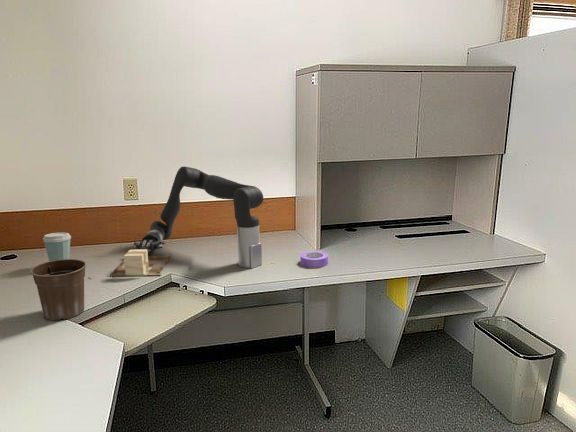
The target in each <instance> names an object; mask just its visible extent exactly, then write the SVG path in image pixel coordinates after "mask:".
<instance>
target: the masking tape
mask: <svg viewBox="0 0 576 432" xmlns="http://www.w3.org/2000/svg"><path fill="white" fill-rule="evenodd" d="M300 265H301V266H303V267H306V268H315V269H317V268H323V267H326V266H328V265H329V255H328V253H327V252H324V251H320V250H310V251H305V252H302V253H301V254H300Z"/></svg>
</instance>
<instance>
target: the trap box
mask: <svg viewBox="0 0 576 432" xmlns="http://www.w3.org/2000/svg"><path fill="white" fill-rule="evenodd" d="M172 256H173V253H169V255H165V254H164V255H148V264H149V268H148V270H147V271H146V272H145V274H144V275H126V272H125V267H122V266H124V265H125V263H124V259H123V260H122V261H121V262H120V263H119V264H118V265H117V266H116V267H115V269H113V270H112V272H111V278H142V277H143V278H145V277H161V276H162V274H161V273H162V271H163V270H164V268H165V267H166V265H167V263H168V262H169V261H170V259H171V258H172ZM156 262H163V263H162V265H161V266H154V265H155V264H156Z"/></svg>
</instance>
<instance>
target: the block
mask: <svg viewBox="0 0 576 432" xmlns="http://www.w3.org/2000/svg"><path fill="white" fill-rule="evenodd" d="M148 253H149V251H147V249H138V250H136V249H129V250H128V251H127V252H126V253H125V254H124V255H123V260H124V268H125V272H126V274H125V275H146V274H145V272H146V271H147V270H148V268H149V264H148V256H149V255H148Z"/></svg>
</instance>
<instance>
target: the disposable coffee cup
mask: <svg viewBox="0 0 576 432" xmlns="http://www.w3.org/2000/svg"><path fill="white" fill-rule="evenodd" d="M71 239H72V235H70V233H68V232H52V233H47V234H45V235H44V236H43V238H42V241H43V244H44V247H45V251H46V254H47V257H48V260H49V261H54V260H62V259H70V254H71V250H70V249H71ZM49 261H48V262H49Z"/></svg>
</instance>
